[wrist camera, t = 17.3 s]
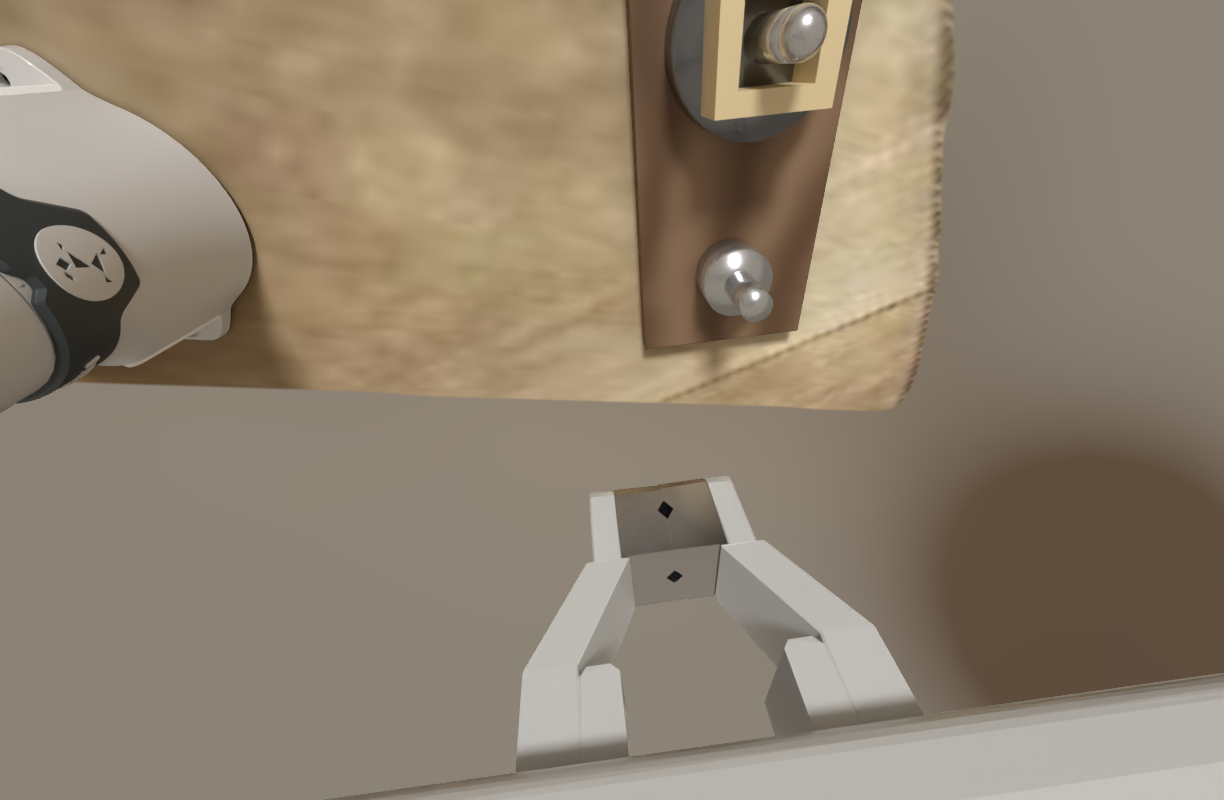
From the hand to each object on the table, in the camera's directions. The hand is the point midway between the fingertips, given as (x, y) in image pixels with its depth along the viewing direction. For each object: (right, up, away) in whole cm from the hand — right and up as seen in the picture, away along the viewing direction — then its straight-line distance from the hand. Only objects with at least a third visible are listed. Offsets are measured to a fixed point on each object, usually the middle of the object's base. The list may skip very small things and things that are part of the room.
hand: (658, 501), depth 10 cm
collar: (+7, +22, +15) cm, 28 cm away
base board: (+8, +20, +23) cm, 31 cm away
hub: (+7, +24, +17) cm, 31 cm away
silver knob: (+8, +13, +26) cm, 30 cm away
